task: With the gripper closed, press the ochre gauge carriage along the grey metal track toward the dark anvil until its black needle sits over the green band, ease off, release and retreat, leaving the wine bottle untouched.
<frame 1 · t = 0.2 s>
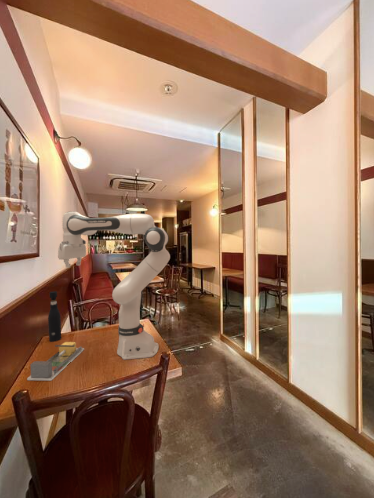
hand: (73, 266, 116), 47 cm above the table, fingers open, 8 cm apart
wine bottle: (55, 339, 131), on the table
carriage: (65, 350, 109), point 4 cm above the table, slide at 0.0 cm
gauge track: (59, 363, 104), on the table
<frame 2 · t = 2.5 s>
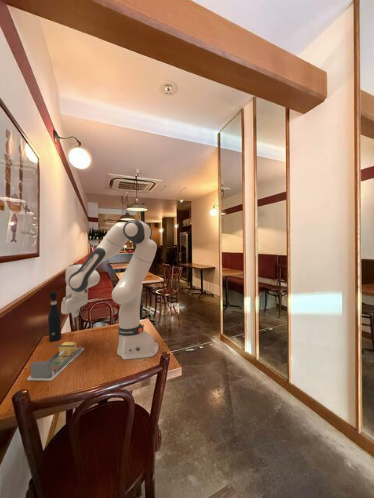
hand: (75, 316, 119), 18 cm above the table, fingers closed
nothing on the table moved.
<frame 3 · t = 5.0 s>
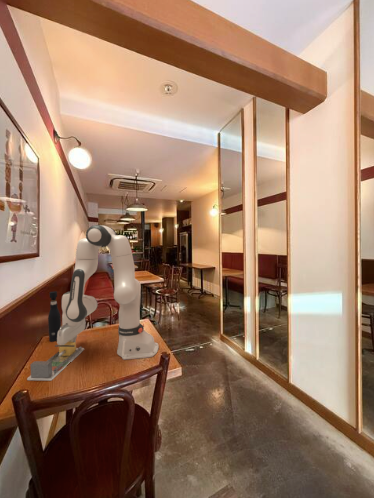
hand: (72, 344, 116), 4 cm above the table, fingers closed
carriage: (65, 350, 109), point 4 cm above the table, slide at 0.0 cm, touching gripper
everything else where it was.
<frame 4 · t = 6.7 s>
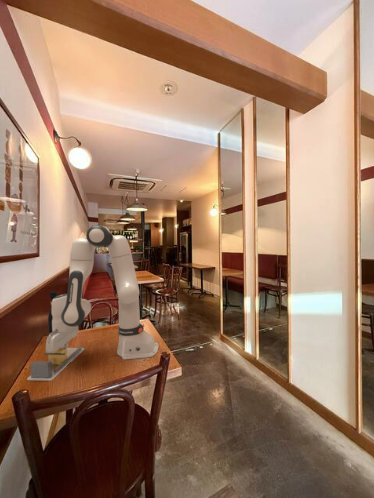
hand: (63, 352, 108), 4 cm above the table, fingers closed
carriage: (55, 358, 101), point 4 cm above the table, slide at 7.8 cm, touching gripper
everything else where it was.
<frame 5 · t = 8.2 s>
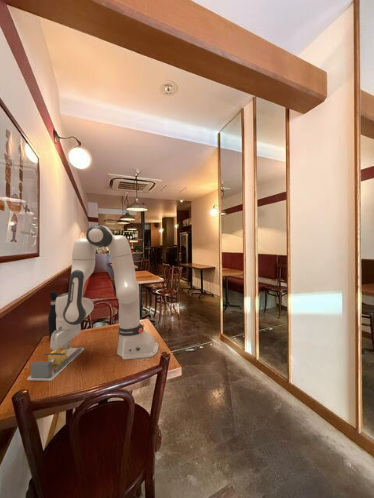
hand: (67, 349, 111), 4 cm above the table, fingers closed
carriage: (54, 358, 101), point 4 cm above the table, slide at 7.9 cm
everything else where it was.
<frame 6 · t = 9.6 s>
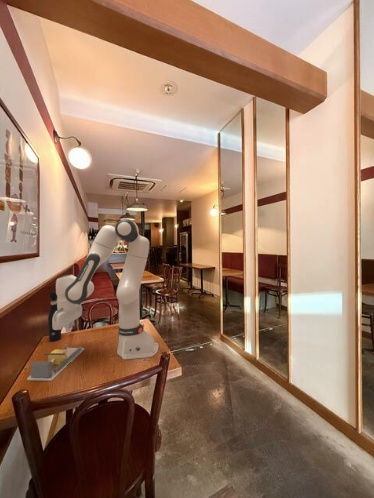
hand: (69, 330, 112), 13 cm above the table, fingers closed
nothing on the table moved.
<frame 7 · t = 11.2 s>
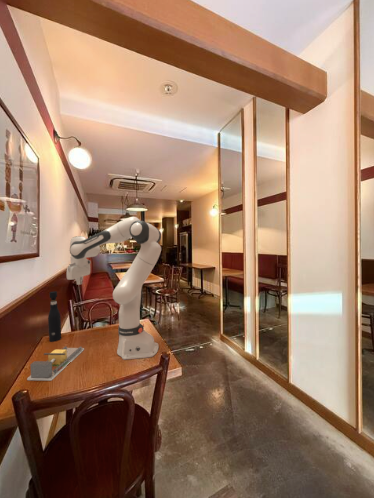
hand: (79, 284, 130), 34 cm above the table, fingers closed
nothing on the table moved.
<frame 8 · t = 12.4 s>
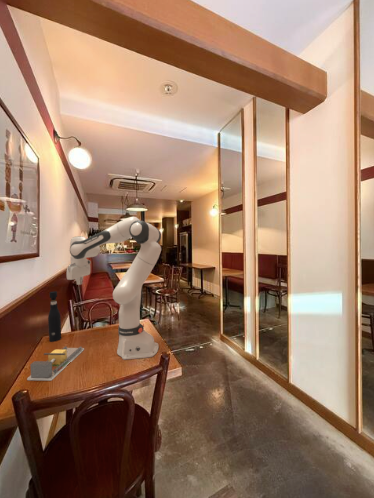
hand: (79, 284, 130), 34 cm above the table, fingers closed
nothing on the table moved.
at the end: carriage slide at 7.9 cm; wine bottle tilted 0° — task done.
